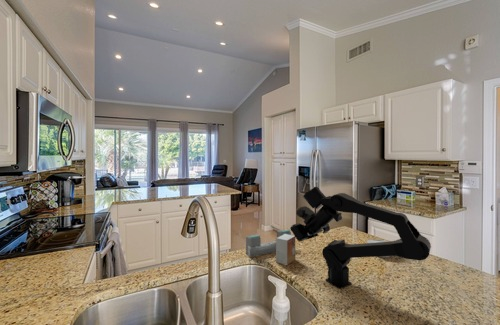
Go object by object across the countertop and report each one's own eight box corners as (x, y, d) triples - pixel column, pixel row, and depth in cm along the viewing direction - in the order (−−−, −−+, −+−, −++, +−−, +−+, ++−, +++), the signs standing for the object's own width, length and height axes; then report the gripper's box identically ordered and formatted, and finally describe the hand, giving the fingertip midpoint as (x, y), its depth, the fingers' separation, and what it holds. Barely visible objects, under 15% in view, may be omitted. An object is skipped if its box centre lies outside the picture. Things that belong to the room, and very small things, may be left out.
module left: (260, 254, 110) (260, 235, 109) (251, 256, 107) (251, 237, 107) (255, 251, 114) (255, 232, 114) (245, 253, 111) (245, 234, 111)
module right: (290, 248, 118) (290, 230, 118) (282, 249, 116) (282, 231, 116) (284, 244, 123) (284, 227, 123) (276, 246, 120) (276, 229, 120)
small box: (287, 265, 98) (287, 240, 98) (275, 262, 102) (275, 237, 102) (295, 259, 105) (295, 235, 105) (284, 256, 108) (284, 233, 108)
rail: (292, 248, 117) (293, 239, 117) (250, 258, 106) (251, 247, 106) (289, 246, 120) (289, 237, 120) (247, 255, 108) (247, 245, 108)
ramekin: (386, 249, 117) (386, 239, 116) (398, 259, 105) (398, 247, 105) (363, 248, 118) (363, 238, 118) (372, 258, 107) (372, 246, 106)
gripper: (323, 198, 99) (302, 219, 108) (294, 203, 87) (273, 227, 96) (340, 220, 93) (317, 241, 102) (312, 229, 81) (287, 252, 90)
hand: (299, 239), depth 97 cm, fingers closed
